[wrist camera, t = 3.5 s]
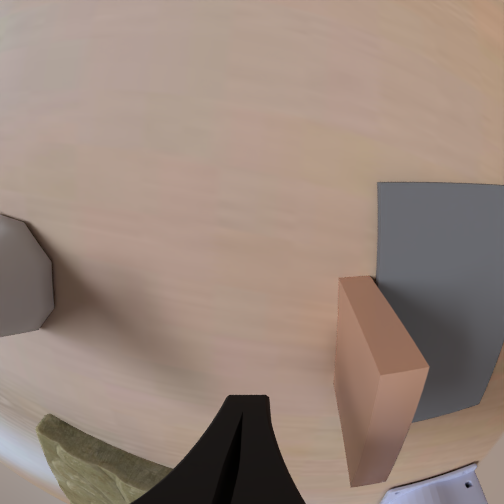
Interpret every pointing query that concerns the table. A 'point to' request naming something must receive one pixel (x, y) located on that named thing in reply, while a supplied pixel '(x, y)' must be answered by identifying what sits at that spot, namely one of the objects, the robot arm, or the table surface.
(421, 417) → the mat
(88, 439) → the decorative tile
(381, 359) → the tile
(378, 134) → the table surface
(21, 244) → the flask
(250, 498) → the robot arm
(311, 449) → the table surface
